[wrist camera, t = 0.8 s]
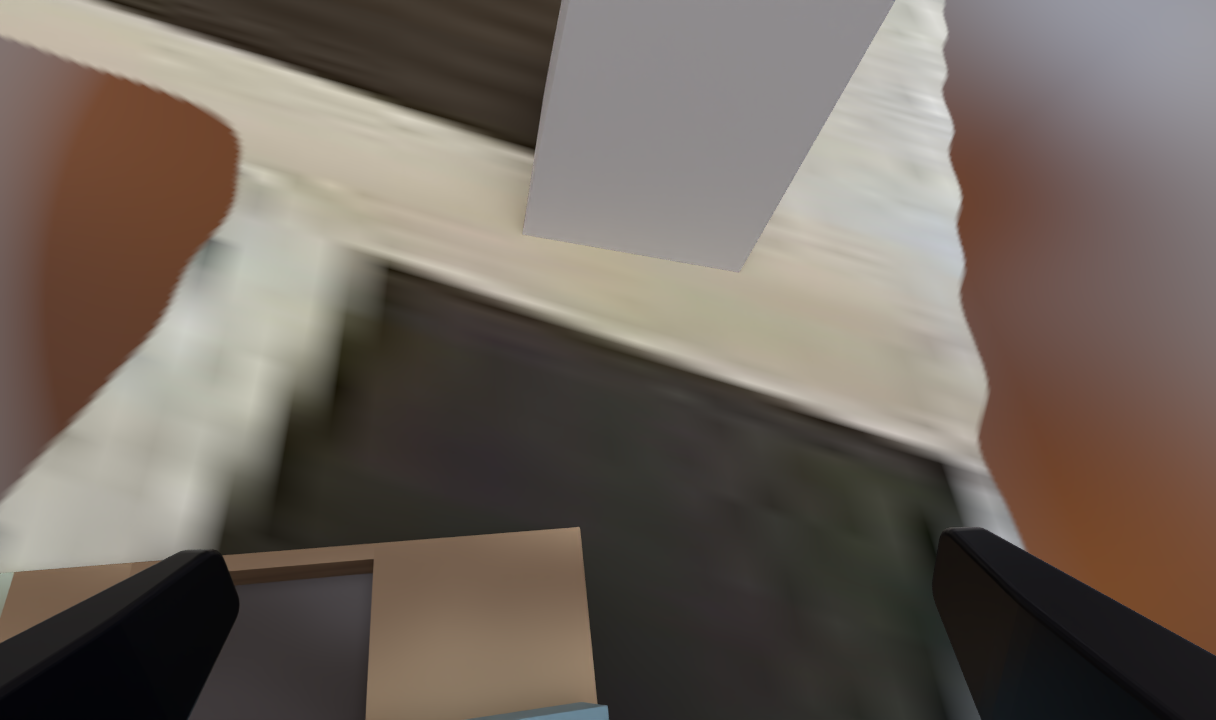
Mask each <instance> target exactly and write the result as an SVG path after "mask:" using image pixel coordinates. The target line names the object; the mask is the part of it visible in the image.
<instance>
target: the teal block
mask: <svg viewBox="0 0 1216 720" xmlns="http://www.w3.org/2000/svg"><path fill="white" fill-rule="evenodd" d="M465 720H609V716H608V706H606V705H599V704H592V703H586V702H578V703H571V704H565V705H558V706H552V707H545V708H538V709H532V710H525V711H518V712H512V713H505V714H498V715H492V716H485V717H479V718H472V719H465Z"/></svg>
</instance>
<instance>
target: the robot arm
mask: <svg viewBox="0 0 1216 720" xmlns="http://www.w3.org/2000/svg"><path fill="white" fill-rule="evenodd" d="M932 590H933V596H934V600H935V604H936V606H937V609H938V611H939V614H940V616H941V619H942V622H943V624H944V627H945V629H946V632H947V634H948V637H949V639H950V642H951V644H952V647H953V649H954V652H955V654H956V657H957V659H958V662H959V665H960V667H961V670H962V672H963V675H964V677H965V680H966V682H967V685H968V687H969V690H970V692H971V695H972V697H973V700H974V703H975V705H976V708H977V710H978V713H979V715H980V717H981V720H1216V656H1215V655H1213V654H1211V653H1210V652H1208V651H1206V650H1204V649H1202V648H1201V647H1199V646H1197V645H1195V644H1193V643H1191V642H1190V641H1188V640H1186V639H1184V638H1182V637H1181V636H1179V635H1177V634H1175V633H1173V632H1171V631H1170V630H1168V629H1166V628H1164V627H1162V626H1161V625H1159V624H1157V623H1155V622H1153V621H1151V620H1150V619H1148V618H1146V617H1144V616H1142V615H1140V614H1139V613H1137V612H1135V611H1133V610H1131V609H1130V608H1128V607H1126V606H1124V605H1122V604H1120V603H1119V602H1117V601H1115V600H1113V599H1111V598H1110V597H1108V596H1106V595H1104V594H1102V593H1101V592H1099V591H1097V590H1095V589H1093V588H1091V587H1090V586H1088V585H1086V584H1084V583H1082V582H1080V581H1079V580H1077V579H1075V578H1073V577H1071V576H1070V575H1068V574H1066V573H1064V572H1062V571H1060V570H1059V569H1057V568H1055V567H1053V566H1051V565H1050V564H1048V563H1046V562H1044V561H1042V560H1041V559H1039V558H1037V557H1035V556H1033V555H1031V554H1030V553H1028V552H1026V551H1024V550H1022V549H1021V548H1019V547H1017V546H1015V545H1013V544H1012V543H1010V542H1008V541H1006V540H1004V539H1002V538H1001V537H999V536H997V535H995V534H993V533H992V532H990V531H988V530H986V529H984V528H980V527H958V528H947V529H946V530H944V531H943V532H942V534H941V536H940V539H939V544H938V550H937V556H936V562H935V568H934V574H933V581H932ZM239 607H240V600H239V596H238V593H237V590H236V588H235V585H234V583H233V580H232V578H231V575H230V572H229V570H228V567H227V565H226V562H225V560H224V558H223V556H222V555H221V554H220V553H219V552H218V551H216V550H213V549H199V550H184V551H181V552H178V553H176V554H174V555H172V556H170V557H168V558H166V559H164V560H162V561H160V562H158V563H156V564H154V565H152V566H151V567H149V568H147V569H145V570H143V571H141V572H139V573H137V574H135V575H133V576H131V577H129V578H127V579H125V580H123V581H121V582H119V583H117V584H115V585H113V586H111V587H109V588H107V589H105V590H103V591H101V592H99V593H97V594H96V595H94V596H92V597H90V598H88V599H86V600H84V601H82V602H80V603H78V604H76V605H74V606H72V607H70V608H68V609H66V610H64V611H62V612H60V613H58V614H56V615H54V616H52V617H50V618H48V619H46V620H44V621H43V622H41V623H39V624H37V625H35V626H33V627H31V628H29V629H27V630H25V631H23V632H21V633H19V634H17V635H15V636H13V637H11V638H9V639H7V640H5V641H3V642H1V643H0V720H188V719H189V717H190V715H191V713H192V711H193V709H194V707H195V704H196V702H197V700H198V698H199V696H200V694H201V692H202V690H203V688H204V686H205V684H206V682H207V679H208V677H209V675H210V673H211V671H212V669H213V667H214V665H215V663H216V661H217V659H218V657H219V655H220V652H221V650H222V648H223V646H224V644H225V642H226V640H227V638H228V636H229V634H230V632H231V630H232V627H233V625H234V623H235V621H236V619H237V616H238V613H239Z"/></svg>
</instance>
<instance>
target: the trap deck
mask: <svg viewBox="0 0 1216 720" xmlns="http://www.w3.org/2000/svg"><path fill="white" fill-rule="evenodd" d="M223 558H224V560H225V562H226V565H227V567H228V570H229V572H230V575H231V578H232V580H233V583H234V585H235V588H236V590H237V593H238V596H239V600H240V607H239V613H238V616H237V619H236V621H235V623H234V625H233V627H232V630H231V632H230V634H229V636H228V638H227V640H226V642H225V644H224V646H223V648H222V650H221V652H220V655H219V657H218V659H217V661H216V663H215V665H214V667H213V669H212V671H211V673H210V675H209V677H208V679H207V682H206V684H205V686H204V688H203V690H202V692H201V694H200V696H199V698H198V700H197V702H196V704H195V707H194V709H193V711H192V713H191V715H190V717H189V719H188V720H465V719H472V718H479V717H485V716H492V715H498V714H505V713H512V712H518V711H525V710H532V709H538V708H545V707H552V706H558V705H565V704H571V703H578V702H586V703H592V704H597V695H596V685H595V675H594V665H593V655H592V645H591V635H590V625H589V615H588V605H587V595H586V585H585V575H584V565H583V555H582V544H581V534H580V527H574V528H562V529H549V530H537V531H524V532H512V533H499V534H487V535H474V536H462V537H449V538H437V539H424V540H411V541H399V542H386V543H374V544H361V545H349V546H336V547H324V548H311V549H299V550H286V551H273V552H261V553H248V554H236V555H223ZM161 561H162V560H161ZM158 562H160V561H148V562H135V563H123V564H110V565H98V566H85V567H73V568H60V569H48V570H35V571H23V572H10V573H0V643H1V642H3V641H5V640H7V639H9V638H11V637H13V636H15V635H17V634H19V633H21V632H23V631H25V630H27V629H29V628H31V627H33V626H35V625H37V624H39V623H41V622H43V621H44V620H46V619H48V618H50V617H52V616H54V615H56V614H58V613H60V612H62V611H64V610H66V609H68V608H70V607H72V606H74V605H76V604H78V603H80V602H82V601H84V600H86V599H88V598H90V597H92V596H94V595H96V594H97V593H99V592H101V591H103V590H105V589H107V588H109V587H111V586H113V585H115V584H117V583H119V582H121V581H123V580H125V579H127V578H129V577H131V576H133V575H135V574H137V573H139V572H141V571H143V570H145V569H147V568H149V567H151V566H152V565H154V564H156V563H158Z"/></svg>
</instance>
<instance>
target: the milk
mask: <svg viewBox="0 0 1216 720" xmlns="http://www.w3.org/2000/svg"><path fill="white" fill-rule="evenodd" d="M894 2H895V0H562V2H561V7H560V12H559V17H558V23H557V28H556V33H555V38H554V43H553V49H552V54H551V59H550V64H549V69H548V75H547V80H546V85H545V90H544V97H543V103H542V110H541V116H540V123H539V129H538V136H537V142H536V149H535V155H534V162H533V168H532V175H531V181H530V188H529V194H528V201H527V207H526V214H525V220H524V227H523V233H522V234H523V235H529V236H534V237H540V238H546V239H551V240H557V241H563V242H568V243H574V244H580V245H586V246H591V247H597V248H603V249H608V250H614V251H620V252H625V253H631V254H637V255H642V256H648V257H654V258H659V259H665V260H671V261H677V262H682V263H688V264H694V265H699V266H705V267H711V268H716V269H722V270H728V271H733V272H740V270H741V268H742V267H743V265H744V263H745V261H746V260H747V258H748V256H749V254H750V253H751V251H752V249H753V248H754V246H755V244H756V242H757V241H758V239H759V237H760V235H761V234H762V232H763V230H764V228H765V227H766V225H767V223H768V221H769V220H770V218H771V216H772V214H773V213H774V211H775V209H776V207H777V206H778V204H779V202H780V200H781V199H782V197H783V195H784V193H785V192H786V190H787V188H788V187H789V185H790V183H791V181H792V180H793V178H794V176H795V174H796V173H797V171H798V169H799V167H800V166H801V164H802V162H803V160H804V159H805V157H806V155H807V153H808V152H809V150H810V148H811V146H812V145H813V143H814V141H815V139H816V138H817V136H818V134H819V132H820V131H821V129H822V127H823V126H824V124H825V122H826V120H827V119H828V117H829V115H830V113H831V112H832V110H833V108H834V106H835V105H836V103H837V101H838V99H839V98H840V96H841V94H842V92H843V91H844V89H845V87H846V85H847V84H848V82H849V80H850V78H851V77H852V75H853V73H854V71H855V70H856V68H857V66H858V65H859V63H860V61H861V59H862V58H863V56H864V54H865V52H866V51H867V49H868V47H869V45H870V44H871V42H872V40H873V38H874V37H875V35H876V33H877V31H878V30H879V28H880V26H881V24H882V23H883V21H884V19H885V17H886V16H887V14H888V12H889V10H890V9H891V7H892V5H893V4H894Z"/></svg>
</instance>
